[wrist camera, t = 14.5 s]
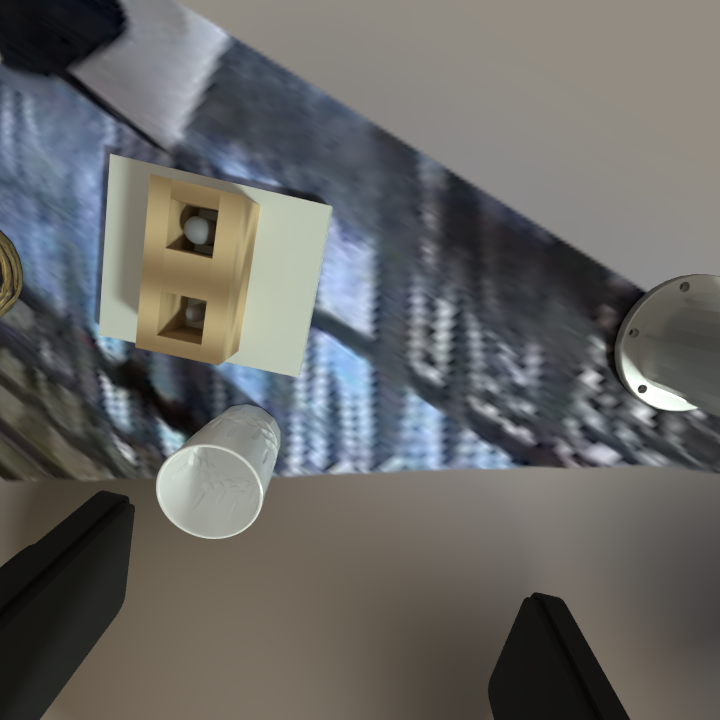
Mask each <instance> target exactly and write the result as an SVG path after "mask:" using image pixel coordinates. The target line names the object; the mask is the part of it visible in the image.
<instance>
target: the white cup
mask: <svg viewBox="0 0 720 720" xmlns="http://www.w3.org/2000/svg"><path fill="white" fill-rule="evenodd" d="M279 448H280V429H279V427H278V425H277V423H276V421H275V419H274V418H273V417H272V416H271V415H270V414H268V413H267V412H266V411H265V410H263V409H262V408H260V407H256V406H252V405H248V404H243V405H237V406H231V407H230V408H228V409H227V410H225V411H224V412H222V413H221V414H220V415H218V416H217V417H216V418H214V419H213V420H211V421H210V422H209V423H208V424H207V425H205V426H204V427H203V428H202V429H201V430H199V431H198V432H197V433H196V434H194V435H193V436H192V437H191V438H190V439H189V440H188V441H187V442H186V443H184V444H183V445H182V446H181V447H180V448H179V449H178V450H177V451H176V452H174V453H173V454H172V455H171V456H170V457H169V458H168V459H167V460H166V461H165V462H164V464H163V465H162V467H161V469H160V471H159V473H158V476H157V481H156V493H157V498H158V501H159V504H160V506H161V508H162V510H163V511H164V513H165V515H166V516H167V517H168V518H169V519H170V520H171V521H172V522H173V523H174V524H175V525H176V526H178V527H179V528H180V529H182V530H183V531H185V532H187V533H190V534H192V535H195V536H198V537H203V538H209V539H219V538H226V537H230V536H233V535H236V534H238V533H240V532H242V531H243V530H245V529H246V528H248V527H249V526H250V525H251V524H252V523H253V522H254V520H255V519H256V518H257V516H258V514H259V512H260V510H261V506H262V503H263V500H264V497H265V494H266V491H267V488H268V485H269V482H270V479H271V476H272V473H273V469H274V466H275V463H276V458H277V453H278V450H279Z"/></svg>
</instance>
